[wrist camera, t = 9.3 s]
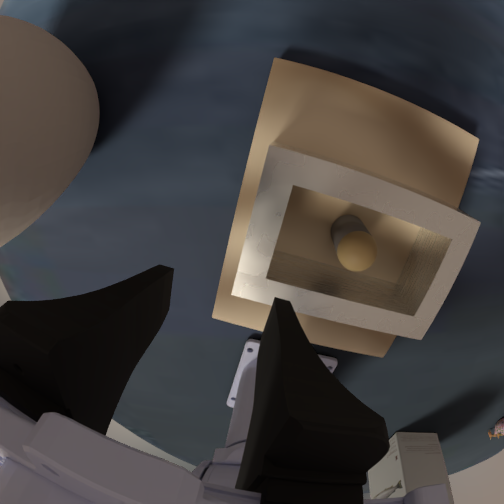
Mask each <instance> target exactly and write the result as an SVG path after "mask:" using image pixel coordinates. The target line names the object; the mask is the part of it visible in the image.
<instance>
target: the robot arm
mask: <svg viewBox="0 0 504 504" xmlns="http://www.w3.org/2000/svg"><path fill="white" fill-rule="evenodd" d="M173 272H174V269H173V268H170V267H167V266H163V265H157V266H155V267H153V268H150V269H148V270H146V271H144V272H142V273H140V274H137V275H135V276H133V277H131V278H128V279H126V280H124V281H121V282H119V283H116V284H113V285H111V286H108V287H106V288H103V289H100V290H96V291H93V292H89V293H86V294H82V295H77V296H72V297H66V298H61V299H53V300H43V301H7V302H6V303H5V304H4V305H2V306H1V307H0V466H1V468H0V504H450V503H449V498H448V494H447V489H446V484H444V483H442V484H435V485H429V486H422V487H419V488H416V489H414V490H412V491H410V492H409V493H407V494H406V495H405V496H404V497H396V498H384V499H367V500H366V499H365V500H363V488H362V485H364V484H366V482H367V477H366V472H367V471H368V470H370V469H371V468H372V467H373V466H375V465H376V464H377V463H378V462H379V461H380V460H382V458H383V457H384V456H385V455H386V454H387V453H388V451H389V448H390V444H389V438H388V431H387V427H386V423H385V420H384V418H383V417H381V416H380V415H379V414H377V413H376V412H374V411H373V410H372V409H370V408H369V407H367V406H366V405H365V404H363V403H362V402H361V401H360V400H359V399H357V398H356V397H355V396H354V395H353V394H352V393H351V392H349V391H348V390H347V389H346V388H345V387H344V386H343V385H342V384H341V383H340V382H339V380H338V379H337V378H336V377H335V376H334V375H333V374H332V373H333V371H334V370H335V368H336V366H337V364H338V362H337V359H336V358H333V357H328V356H324V355H319V354H317V353H316V352H315V350H314V348H313V347H312V345H311V344H310V342H309V340H308V338H307V336H306V334H305V332H304V330H303V328H302V327H301V324H300V322H299V320H298V318H297V316H296V313H295V311H294V309H293V306H292V304H291V302H290V301H288V300H284V299H280V298H277V297H275V298H274V301H273V304H272V307H271V310H270V313H269V316H268V319H267V322H266V324H265V327H264V330H263V333H262V336H261V341H259V340H255V339H248V340H247V341H246V344H245V347H244V350H243V353H242V356H241V360H240V363H239V366H238V369H237V372H236V375H235V378H234V381H233V384H232V387H231V391H230V394H229V397H228V400H227V405H228V406H230V407H233V413H232V417H231V422H230V426H229V431H228V435H227V440H226V444H225V448H216V449H215V453H214V457H213V461H211V460H206V461H203V462H201V463H200V464H199V465H198V466H197V467H196V468H195V469H194V470H193V471H192V473H191V472H190V471H188V470H187V469H185V468H184V467H181V466H179V465H176V464H174V463H171V462H169V461H167V460H165V459H162V458H159V457H156V456H153V455H151V454H148V453H145V452H143V451H140V450H138V449H135V448H132V447H130V446H128V445H125V444H123V443H120V442H118V441H116V440H113V439H111V438H109V437H107V436H105V435H106V432H107V429H108V427H109V424H110V422H111V419H112V417H113V414H114V411H115V409H116V407H117V404H118V402H119V400H120V397H121V395H122V393H123V390H124V388H125V386H126V384H127V382H128V380H129V378H130V376H131V374H132V372H133V370H134V368H135V367H136V365H137V363H138V362H139V360H140V359H141V357H142V356H143V354H144V353H145V351H146V349H147V348H148V346H149V345H150V343H151V342H152V340H153V339H154V337H155V336H156V334H157V333H158V331H159V329H160V328H161V326H162V324H163V322H164V320H165V317H166V315H167V313H168V311H169V306H170V297H171V288H172V280H173ZM248 348H252V350H250V349H248ZM329 366H331V367H329Z"/></svg>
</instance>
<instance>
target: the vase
mask: <svg viewBox="0 0 504 504" xmlns="http://www.w3.org/2000/svg"><path fill="white" fill-rule="evenodd" d="M99 114H100V111H99V101H98V95H97V90H96V87H95V84H94V82H93V80H92V78H91V76H90V74H89V73H88V71H87V69H86V68H85V66H84V65H83V64H82V62H81V61H80V60H79V59H78V58H77V56H76V55H75V54H74V53H73V52H72V51H71V50H70V49H69V48H68V47H67V46H66V45H65V44H63V43H62V42H61V41H60V40H59V39H57V38H56V37H54V36H53V35H51V34H50V33H48V32H47V31H45V30H44V29H42V28H40V27H37V26H35V25H33V24H31V23H28V22H26V21H23V20H20V19H16V18H12V17H9V16H2V15H0V247H1V246H3V245H4V244H6V243H7V242H8V241H10V240H11V239H13V238H14V237H16V236H17V235H19V234H20V233H21V232H22V231H24V230H25V229H26V228H27V227H28V226H30V225H31V224H32V223H33V222H34V221H35V220H37V219H38V218H39V217H40V216H41V215H42V214H43V213H44V212H45V211H46V210H47V209H48V208H49V207H50V206H51V205H52V204H53V203H54V202H55V201H56V200H57V198H58V197H59V196H60V195H61V194H62V193H63V192H64V191H65V189H66V188H67V187H68V186H69V184H70V183H71V182H72V181H73V179H74V178H75V177H76V175H77V174H78V172H79V171H80V169H81V168H82V166H83V165H84V163H85V161H86V160H87V158H88V156H89V154H90V152H91V150H92V147H93V144H94V141H95V138H96V135H97V131H98V126H99Z"/></svg>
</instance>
